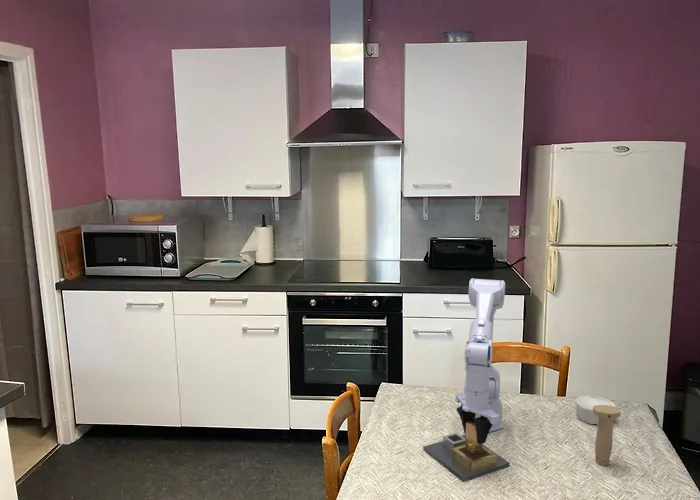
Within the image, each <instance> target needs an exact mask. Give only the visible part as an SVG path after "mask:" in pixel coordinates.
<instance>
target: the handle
mask: <svg viewBox="0 0 700 500" xmlns="http://www.w3.org/2000/svg"><path fill="white" fill-rule="evenodd" d="M621 412H622V411H621V409H620V408H618V407H617V406H616V407H613V406H609V405H596V406H593V413H594V414H595V415H596V416H598V417H599V421H598V426H597V428H596V429H597V430H596V436H595V443H594V453H595V454H594V455H595V458H594V459H595V462H596V464H597V465H600V466H602V465H603V466H602V467H605V466H609V464H610V462H611V461H610V459H611V456H612V449H613V431H614V430H613V427H614V425H613V423H614V420H615V419H618V418H620V416H621Z"/></svg>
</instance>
